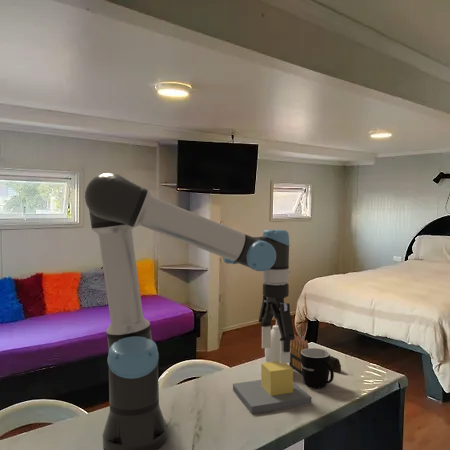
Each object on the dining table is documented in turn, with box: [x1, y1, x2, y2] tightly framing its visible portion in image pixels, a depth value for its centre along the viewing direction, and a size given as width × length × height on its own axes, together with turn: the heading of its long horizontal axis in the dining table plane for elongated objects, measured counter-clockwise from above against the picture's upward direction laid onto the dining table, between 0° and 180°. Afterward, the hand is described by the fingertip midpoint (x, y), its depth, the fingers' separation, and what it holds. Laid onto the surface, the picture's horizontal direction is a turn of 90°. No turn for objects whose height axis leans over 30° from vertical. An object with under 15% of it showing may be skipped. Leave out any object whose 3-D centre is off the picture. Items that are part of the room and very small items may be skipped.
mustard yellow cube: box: [260, 361, 294, 396], centre depth 127 cm, size 7×7×7 cm
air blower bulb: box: [264, 319, 282, 363], centre depth 146 cm, size 8×8×18 cm
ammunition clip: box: [288, 333, 309, 376], centre depth 146 cm, size 11×2×12 cm, turn 22°
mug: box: [301, 347, 335, 390], centre depth 133 cm, size 12×9×10 cm
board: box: [232, 379, 312, 415], centre depth 126 cm, size 18×16×6 cm
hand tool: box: [330, 355, 342, 374], centre depth 151 cm, size 19×4×5 cm, turn 31°
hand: (275, 354), depth 127 cm, fingers open, 13 cm apart
